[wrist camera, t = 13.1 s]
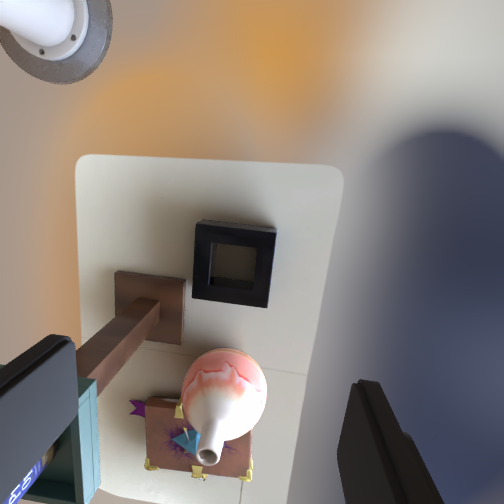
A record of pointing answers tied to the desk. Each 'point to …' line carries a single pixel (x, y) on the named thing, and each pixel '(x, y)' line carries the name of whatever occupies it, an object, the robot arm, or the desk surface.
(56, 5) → the robot arm
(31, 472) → the pill bottle
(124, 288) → the stand
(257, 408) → the vase
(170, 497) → the desk surface
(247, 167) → the desk surface
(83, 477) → the tray
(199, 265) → the holder
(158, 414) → the book
